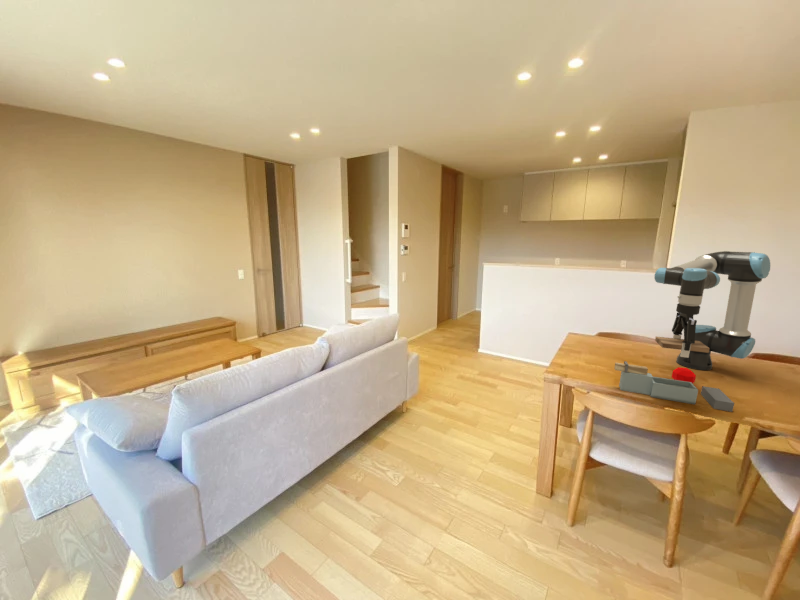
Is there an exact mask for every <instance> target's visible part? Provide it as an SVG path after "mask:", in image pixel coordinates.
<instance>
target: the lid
mask: <svg viewBox="0 0 800 600" xmlns="http://www.w3.org/2000/svg"><path fill="white" fill-rule="evenodd" d="M654 341H655V342H656V343H657V344H658V345H659V346H660V347H661V348H663V349H671V350H680V351H681V349H682V344H683V343H682V341H684V338H681V339H676V338H673V337H664V336H655V338H654ZM709 349H710V348H709V347H707V346H706V345H704V344H703V343H701V342H700V341H695V343H694V344H693V343H692V344H691V348H690V351H697V352H706V353H709Z"/></svg>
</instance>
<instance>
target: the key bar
mask: <svg viewBox="0 0 800 600" xmlns="http://www.w3.org/2000/svg"><path fill="white" fill-rule="evenodd" d="M625 366H626V365H625V364H624V363H621V362H615V363H614V370H615V371H619V372H621V371H624V372H625ZM648 371H649V368H648V367H647V366H643V365H636V364H629V363H628V371H627V372H630V373H637V374H644V375H647V373H649V372H648Z"/></svg>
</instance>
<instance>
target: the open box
mask: <svg viewBox="0 0 800 600" xmlns="http://www.w3.org/2000/svg"><path fill="white" fill-rule="evenodd" d="M698 394H699V389H698V388H697V387H696V386H695V384H694V383H693V384H692V382H686V381H679V380H674V379H673V378H672V379H671V378H665V377H660V376H659V377H658V376H653V380H652V386H651V391H650V395H649V396H650V398H654V399H661V400H668V401H673V402H679V403H685V404H689V405H696V402H697V398H698Z"/></svg>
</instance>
